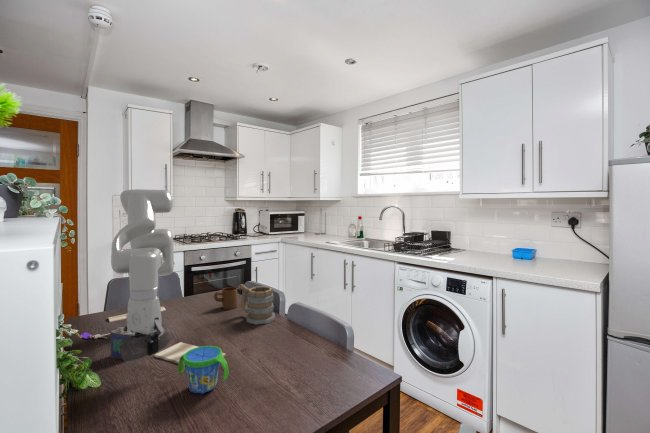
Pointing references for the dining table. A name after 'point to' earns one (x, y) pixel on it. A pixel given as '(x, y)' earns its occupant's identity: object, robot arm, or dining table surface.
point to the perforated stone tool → (140, 345)
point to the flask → (118, 341)
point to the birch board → (176, 352)
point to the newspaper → (125, 316)
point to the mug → (227, 297)
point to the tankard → (258, 304)
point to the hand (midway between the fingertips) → (146, 350)
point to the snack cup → (203, 368)
